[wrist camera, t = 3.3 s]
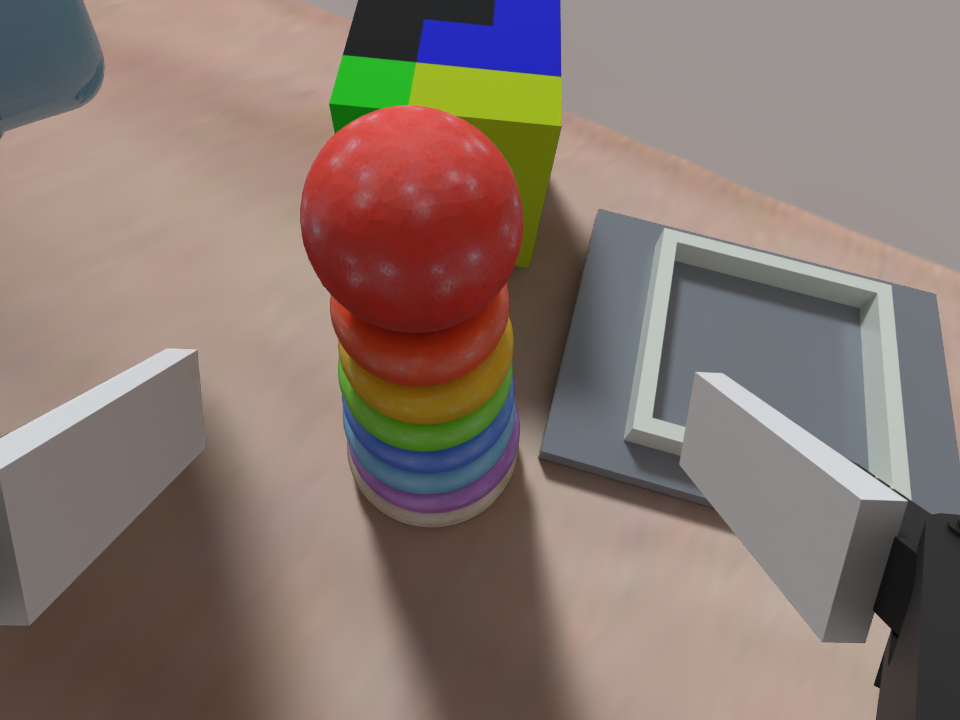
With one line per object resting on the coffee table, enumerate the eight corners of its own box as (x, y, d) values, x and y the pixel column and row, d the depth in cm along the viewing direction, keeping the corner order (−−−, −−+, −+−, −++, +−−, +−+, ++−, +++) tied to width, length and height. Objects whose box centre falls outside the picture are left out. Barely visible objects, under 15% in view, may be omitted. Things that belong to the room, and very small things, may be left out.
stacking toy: (385, 357, 30) (322, -24, 13) (532, 401, 29) (655, 58, 13) (323, 500, 26) (128, 216, 10) (489, 554, 26) (584, 349, 9)
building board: (538, 457, 28) (546, 439, 26) (594, 220, 35) (605, 190, 33) (957, 578, 26) (1004, 570, 24) (923, 303, 34) (956, 278, 32)
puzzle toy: (531, 149, 38) (560, -7, 29) (528, 268, 33) (561, 126, 25) (382, 134, 38) (365, -27, 29) (357, 253, 33) (328, 103, 24)
